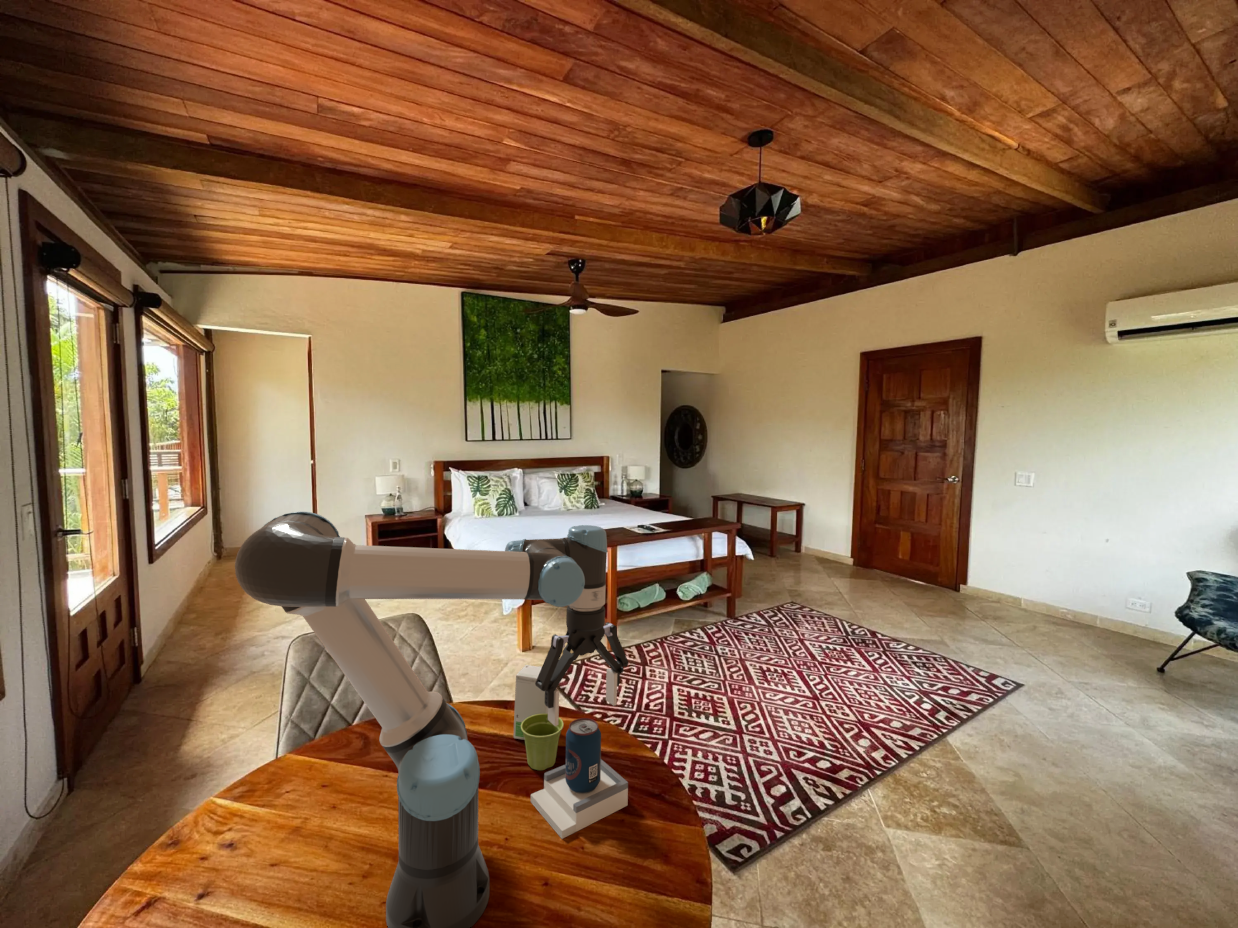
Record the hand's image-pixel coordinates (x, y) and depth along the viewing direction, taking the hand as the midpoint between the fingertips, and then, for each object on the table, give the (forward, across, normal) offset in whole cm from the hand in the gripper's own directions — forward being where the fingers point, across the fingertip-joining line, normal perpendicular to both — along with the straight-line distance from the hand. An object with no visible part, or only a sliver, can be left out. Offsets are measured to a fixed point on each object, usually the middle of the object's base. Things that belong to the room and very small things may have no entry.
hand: (583, 712), depth 104 cm
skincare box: (+18, +4, +27) cm, 33 cm away
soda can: (+15, 0, 0) cm, 15 cm away
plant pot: (+18, 0, +16) cm, 24 cm away
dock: (+18, -1, 0) cm, 18 cm away
